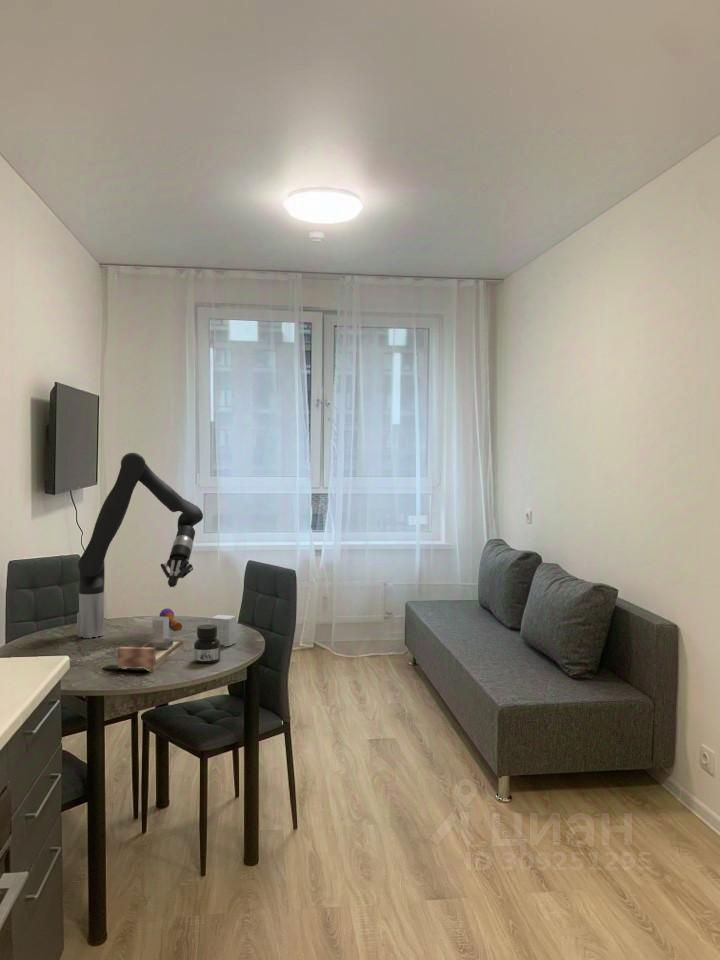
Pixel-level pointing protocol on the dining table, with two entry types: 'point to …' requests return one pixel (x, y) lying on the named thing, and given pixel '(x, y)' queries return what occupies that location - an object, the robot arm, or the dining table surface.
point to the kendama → (171, 618)
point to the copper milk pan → (146, 656)
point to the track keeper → (161, 634)
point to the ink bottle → (207, 645)
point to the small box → (225, 629)
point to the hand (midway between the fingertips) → (171, 585)
